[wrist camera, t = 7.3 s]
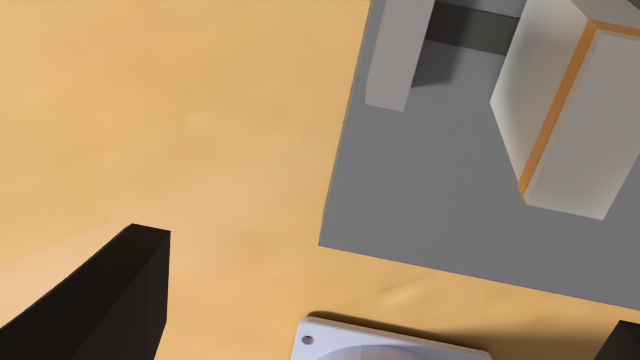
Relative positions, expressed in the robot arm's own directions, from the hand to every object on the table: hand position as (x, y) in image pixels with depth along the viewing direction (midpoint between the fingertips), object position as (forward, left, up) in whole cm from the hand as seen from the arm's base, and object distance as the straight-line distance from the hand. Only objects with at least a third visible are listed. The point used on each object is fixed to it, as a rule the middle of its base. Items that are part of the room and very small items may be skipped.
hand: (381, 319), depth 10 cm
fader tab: (+3, -4, -8) cm, 9 cm away
